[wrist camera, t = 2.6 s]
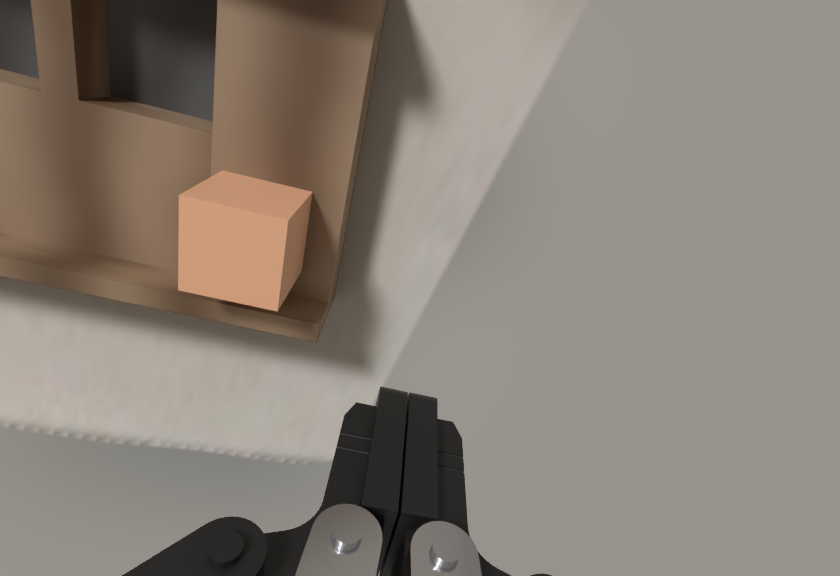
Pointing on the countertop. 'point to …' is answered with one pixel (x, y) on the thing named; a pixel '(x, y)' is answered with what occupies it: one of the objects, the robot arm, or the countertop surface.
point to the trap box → (176, 137)
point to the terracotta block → (242, 239)
